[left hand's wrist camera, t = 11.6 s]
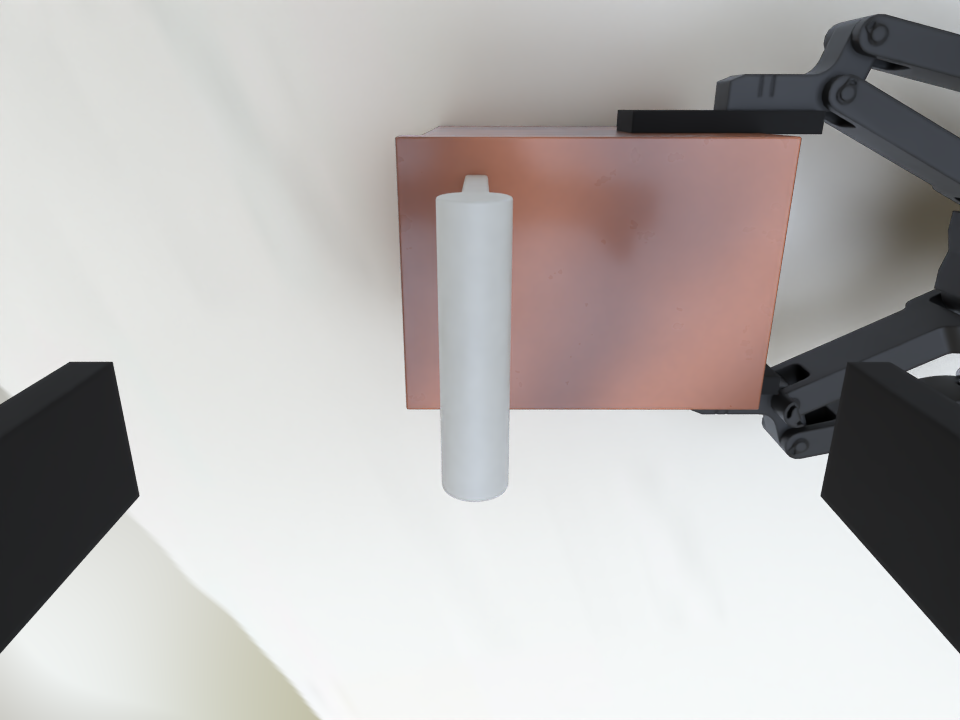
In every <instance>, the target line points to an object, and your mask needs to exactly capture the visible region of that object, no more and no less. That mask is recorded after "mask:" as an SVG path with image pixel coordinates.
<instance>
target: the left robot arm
mask: <svg viewBox="0 0 960 720" xmlns="http://www.w3.org/2000/svg"><path fill="white" fill-rule="evenodd" d="M138 497H139V491H138V486H137V481H136V476H135V471H134V466H133V461H132V456H131V451H130V446H129V441H128V436H127V431H126V426H125V421H124V416H123V411H122V406H121V401H120V396H119V391H118V386H117V381H116V376H115V371H114V366H113V362H69V363H67V364H66V365H64V366H62V367H61V368H59V369H57V370H56V371H54V372H52V373H51V374H49V375H48V376H46V377H44V378H43V379H41V380H39V381H38V382H36V383H34V384H33V385H31V386H30V387H28V388H26V389H25V390H23V391H21V392H20V393H18V394H16V395H15V396H13V397H12V398H10V399H8V400H7V401H5V402H3V403H2V404H0V653H1V652H2V651H3V650H4V649H5V647H6V646H7V645H8V644H9V643H10V642H11V641H12V640H13V638H14V637H15V636H16V635H17V634H18V633H19V632H20V630H21V629H22V628H23V627H24V626H25V625H26V624H27V623H28V622H29V620H30V619H31V618H32V617H33V616H34V615H35V614H36V612H37V611H38V610H39V609H40V608H41V607H42V606H43V605H44V603H45V602H46V601H47V600H48V599H49V598H50V597H51V595H52V594H53V593H54V592H55V591H56V590H57V589H58V587H59V586H60V585H61V584H62V583H63V582H64V581H65V580H66V579H67V577H68V576H69V575H70V574H71V573H72V572H73V571H74V569H75V568H76V567H77V566H78V565H79V564H80V563H81V562H82V560H83V559H84V558H85V557H86V556H87V555H88V554H89V553H90V551H91V550H92V549H93V548H94V547H95V546H96V545H97V543H98V542H99V541H100V540H101V539H102V538H103V537H104V536H105V534H106V533H107V532H108V531H109V530H110V529H111V528H112V527H113V525H114V524H115V523H116V522H117V521H118V520H119V519H120V517H121V516H122V515H123V514H124V513H125V512H126V511H127V510H128V508H129V507H130V506H131V505H132V504H133V503H134V502H135V501H136V499H137V498H138ZM821 497H822V498H823V499H824V501H825V502H826V503H827V504H828V505H829V506H830V507H831V508H832V510H833V511H834V512H835V513H836V514H837V515H838V516H839V517H840V519H841V520H842V521H843V522H844V523H845V524H846V525H847V527H848V528H849V529H850V530H851V531H852V532H853V533H854V534H855V536H856V537H857V538H858V539H859V540H860V541H861V542H862V543H863V545H864V546H865V547H866V548H867V549H868V550H869V551H870V553H871V554H872V555H873V556H874V557H875V558H876V559H877V560H878V562H879V563H880V564H881V565H882V566H883V567H884V568H885V569H886V571H887V572H888V573H889V574H890V575H891V576H892V577H893V579H894V580H895V581H896V582H897V583H898V584H899V585H900V586H901V588H902V589H903V590H904V591H905V592H906V593H907V594H908V596H909V597H910V598H911V599H912V600H913V601H914V602H915V603H916V605H917V606H918V607H919V608H920V609H921V610H922V611H923V612H924V614H925V615H926V616H927V617H928V618H929V619H930V620H931V622H932V623H933V624H934V625H935V626H936V627H937V628H938V629H939V631H940V632H941V633H942V634H943V635H944V636H945V637H946V638H947V640H948V641H949V642H950V643H951V644H952V645H953V646H954V648H955V649H956V650H957V651H958V652H959V653H960V404H958V403H957V402H955V401H953V400H952V399H950V398H948V397H947V396H945V395H944V394H942V393H940V392H939V391H937V390H935V389H934V388H932V387H930V386H929V385H927V384H926V383H924V382H922V381H921V380H919V379H917V378H916V377H914V376H912V375H911V374H909V373H908V372H906V371H904V370H903V369H901V368H899V367H898V366H896V365H894V364H893V363H891V362H847V366H846V371H845V376H844V381H843V386H842V391H841V396H840V401H839V406H838V411H837V416H836V421H835V426H834V431H833V436H832V441H831V446H830V451H829V456H828V461H827V466H826V471H825V476H824V481H823V486H822V491H821Z"/></svg>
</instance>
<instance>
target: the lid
mask: <svg viewBox="0 0 960 720" xmlns="http://www.w3.org/2000/svg"><path fill="white" fill-rule="evenodd" d="M395 143H396V168H397V192H398V216H399V240H400V264H401V288H402V312H403V336H404V360H405V384H406V408H407V409H440V413H441V458H442V486H443V488H444V490H445V492H446V493H447V494H449V495H450V496H452V497H454V498H456V499H459V500H463V501H470V502H480V501H487V500H491V499H494V498H496V497H498V496H500V495H501V494H503V493H504V492H505V490H506V489H507V487H508V464H509V409H724V410H757V409H759V403H760V397H761V390H762V384H763V378H764V371H765V365H766V359H767V353H768V346H769V340H770V334H771V327H772V321H773V315H774V308H775V302H776V296H777V290H778V283H779V277H780V271H781V264H782V258H783V252H784V246H785V239H786V233H787V227H788V220H789V214H790V208H791V201H792V195H793V189H794V183H795V176H796V170H797V164H798V157H799V151H800V145H801V137H797V136H712V135H400V136H398V137H396V138H395Z"/></svg>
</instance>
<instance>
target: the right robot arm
mask: <svg viewBox="0 0 960 720" xmlns="http://www.w3.org/2000/svg"><path fill="white" fill-rule="evenodd" d="M824 48H825V50H824V52H823V54H822V56H821V58H820V60H819V62H818V63H817V65H816V66H815V67H814V68H813V69H812V70H811V71H809V72H808V73H806V74H744V75H735V76H730V77H728V78H725V79H723V80H720V81H718V82H717V86H716V94H715V103H714V110H618V116H617V131H622V132H628V133H764V134H822V130H823V124H824V122H825V123H827V124H829V125H830V126H832V127H834V128H835V129H837V130H839V131H841V132H842V133H844V134H846V135H847V136H849V137H851V138H852V139H854V140H856V141H858V142H859V143H861V144H863V145H864V146H866V147H868V148H869V149H871V150H873V151H875V152H876V153H878V154H880V155H881V156H883V157H885V158H887V159H888V160H890V161H892V162H893V163H895V164H897V165H898V166H900V167H902V168H904V169H905V170H907V171H909V172H910V173H912V174H914V175H915V176H917V177H919V178H921V179H922V180H924V181H926V182H927V183H929V184H931V185H932V186H933V189H934V190H936V191H937V192H939V193H941V194H942V195H944V196H946V197H947V198H949V199H951V200H952V201H954V202H956V203H958V204H959V205H960V138H959V137H957V136H956V135H954V134H952V133H951V132H949V131H947V130H946V129H944V128H942V127H941V126H939V125H937V124H936V123H934V122H933V121H931V120H929V119H928V118H926V117H924V116H923V115H921V114H919V113H918V112H916V111H914V110H913V109H911V108H909V107H908V106H906V105H904V104H903V103H901V102H900V101H898V100H896V99H895V98H893V97H891V96H890V95H888V94H886V93H885V92H883V91H881V90H880V89H878V88H876V87H875V86H873V85H871V84H870V83H868V82H867V81H865V79H866V77H867V75H868V73H869V71H870V70H871V69H875V70H879V71H882V72H886V73H890V74H894V75H898V76H901V77H905V78H909V79H913V80H916V81H920V82H924V83H928V84H932V85H935V86H939V87H943V88H947V89H950V90H954V91H958V92H960V35H959V34H955V33H952V32H948V31H944V30H941V29H937V28H933V27H930V26H926V25H922V24H919V23H915V22H911V21H908V20H904V19H900V18H897V17H893V16H889V15H886V14H876V15H872V16H868V17H863V18H859V19H855V20H850V21H846V22H842V23H839V24H836V25H834V26H833V27H832V28H831V29H830V30H829V31H828V32H827V34H826V36H825V40H824ZM948 243H949V250H948V253H947V255H946V257H945V259H944V260H943V262H942V264H941V266H940V268H939V270H938V275H937V279H936V283H935V287H934V288H935V289H934V290H932V291H930V292H928V293H925V294H923V295H921V296H918V297H916V298H914V299H912V300H910V301H908V302H907V303H906V306H905V308H904V309H903V310H901V311H899V312H897V313H894V314H892V315H890V316H887V317H885V318H883V319H881V320H878V321H876V322H874V323H871V324H869V325H867V326H865V327H862V328H860V329H858V330H855V331H853V332H851V333H849V334H846V335H844V336H842V337H839V338H837V339H835V340H833V341H830V342H828V343H826V344H823V345H821V346H819V347H817V348H814V349H812V350H810V351H807V352H805V353H803V354H801V355H798V356H796V357H794V358H791V359H789V360H787V361H785V362H782V363H780V364H778V365H776V366H773V367H771V368H770V367H769V366H768V365H767V364H766V365H765V371H764V378H763V384H762V390H761V397H760V403H759V409H757V410H724V409H690V410H692V411H695V412H698V413H700V414H762V415H763V418H762V425H763V428H764V429H765V430H766V431H767V432H768V433H769V434H770V436H771V437H772V438H773V439H774V440H775V441H776V442H777V443H778V445H779V446H780V447H781V448H782V449H783V450H784V451H785V452H786V454H787V455H788V456H789V457H791V458H794V459H802V458H807V457H812V456H817V455H822V454H827V453H829V451H830V446H831V441H832V436H833V431H834V426H835V421H836V416H837V411H838V406H839V401H840V396H841V391H842V386H843V381H844V376H845V371H846V366H847V362H891V363H893V364H894V365H896V366H898V367H899V368H901V369H903V370H904V371H908V370H911V369H913V368H915V367H918V366H920V365H923V364H925V363H927V362H930V361H932V360H934V359H937V358H939V357H941V356H944V355H946V354H950V353H960V211H953V213H952V217H951V221H950V225H949V229H948ZM919 380H921V381H922V382H924V383H926V384H927V385H929V386H930V387H932V388H934V389H935V390H937V391H939V392H940V393H942V394H944V395H945V396H947V397H948V398H950V399H952V400H953V401H955V402H957V403H958V404H960V368H959V369H958V370H957V372H956V376H947V375H944V376H931V377H925V378H920V379H919Z"/></svg>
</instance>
